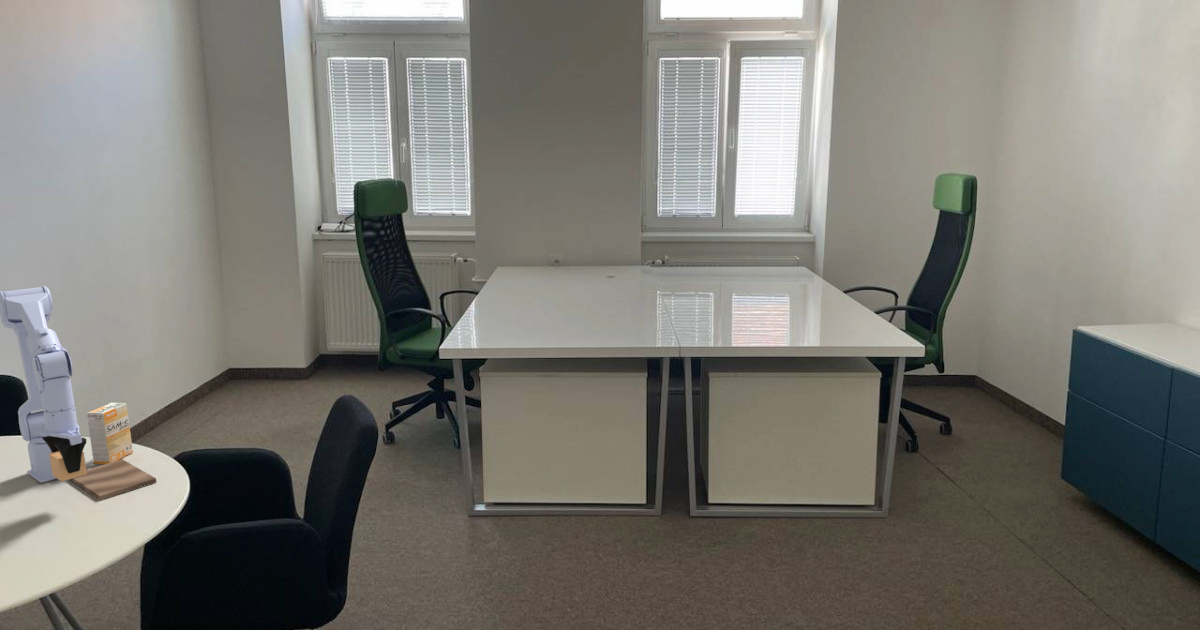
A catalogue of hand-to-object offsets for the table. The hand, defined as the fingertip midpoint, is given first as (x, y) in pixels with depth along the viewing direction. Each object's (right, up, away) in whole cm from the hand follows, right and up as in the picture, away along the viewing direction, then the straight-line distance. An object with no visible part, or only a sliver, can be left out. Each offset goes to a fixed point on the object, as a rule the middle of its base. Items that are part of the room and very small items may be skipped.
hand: (68, 468), depth 192 cm
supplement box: (-5, -2, +27) cm, 28 cm away
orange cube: (0, -1, 0) cm, 1 cm away
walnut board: (+2, -5, +14) cm, 15 cm away
